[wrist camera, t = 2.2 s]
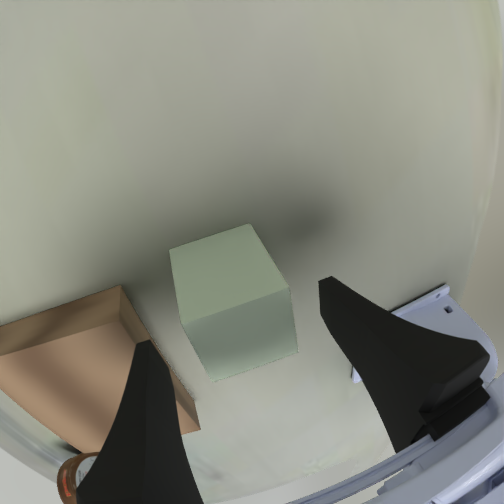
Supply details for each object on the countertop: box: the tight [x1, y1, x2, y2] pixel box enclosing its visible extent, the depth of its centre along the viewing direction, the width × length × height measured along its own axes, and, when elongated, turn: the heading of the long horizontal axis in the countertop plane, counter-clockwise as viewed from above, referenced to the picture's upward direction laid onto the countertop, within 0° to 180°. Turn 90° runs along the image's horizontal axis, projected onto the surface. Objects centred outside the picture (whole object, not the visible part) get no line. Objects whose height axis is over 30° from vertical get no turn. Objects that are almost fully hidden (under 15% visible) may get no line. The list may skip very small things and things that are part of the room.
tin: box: [57, 452, 99, 504], centre depth 23 cm, size 15×3×8 cm, turn 36°
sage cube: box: [169, 223, 298, 382], centre depth 14 cm, size 4×4×5 cm
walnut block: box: [0, 285, 201, 454], centre depth 17 cm, size 10×12×3 cm
